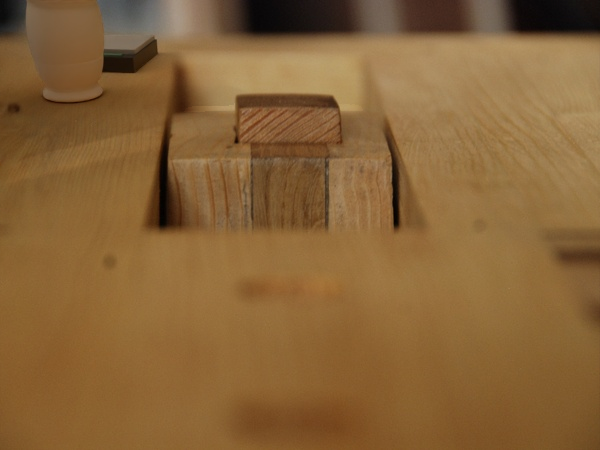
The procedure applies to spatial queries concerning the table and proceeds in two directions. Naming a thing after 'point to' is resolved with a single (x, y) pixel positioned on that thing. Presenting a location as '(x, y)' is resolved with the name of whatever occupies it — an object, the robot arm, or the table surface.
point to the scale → (127, 52)
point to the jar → (66, 47)
